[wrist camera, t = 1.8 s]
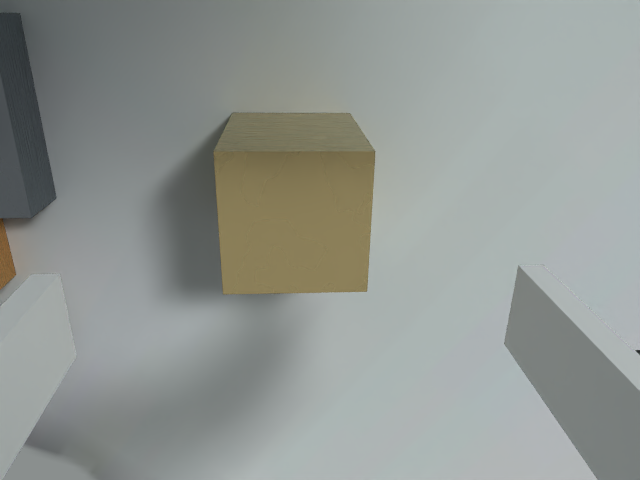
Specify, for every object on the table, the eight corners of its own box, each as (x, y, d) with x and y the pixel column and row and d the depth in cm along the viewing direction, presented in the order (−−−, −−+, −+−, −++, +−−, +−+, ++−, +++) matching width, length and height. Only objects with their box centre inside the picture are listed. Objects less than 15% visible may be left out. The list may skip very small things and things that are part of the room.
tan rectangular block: (232, 112, 26) (213, 151, 19) (350, 113, 27) (375, 151, 20) (238, 222, 29) (222, 294, 22) (345, 221, 29) (367, 291, 22)
